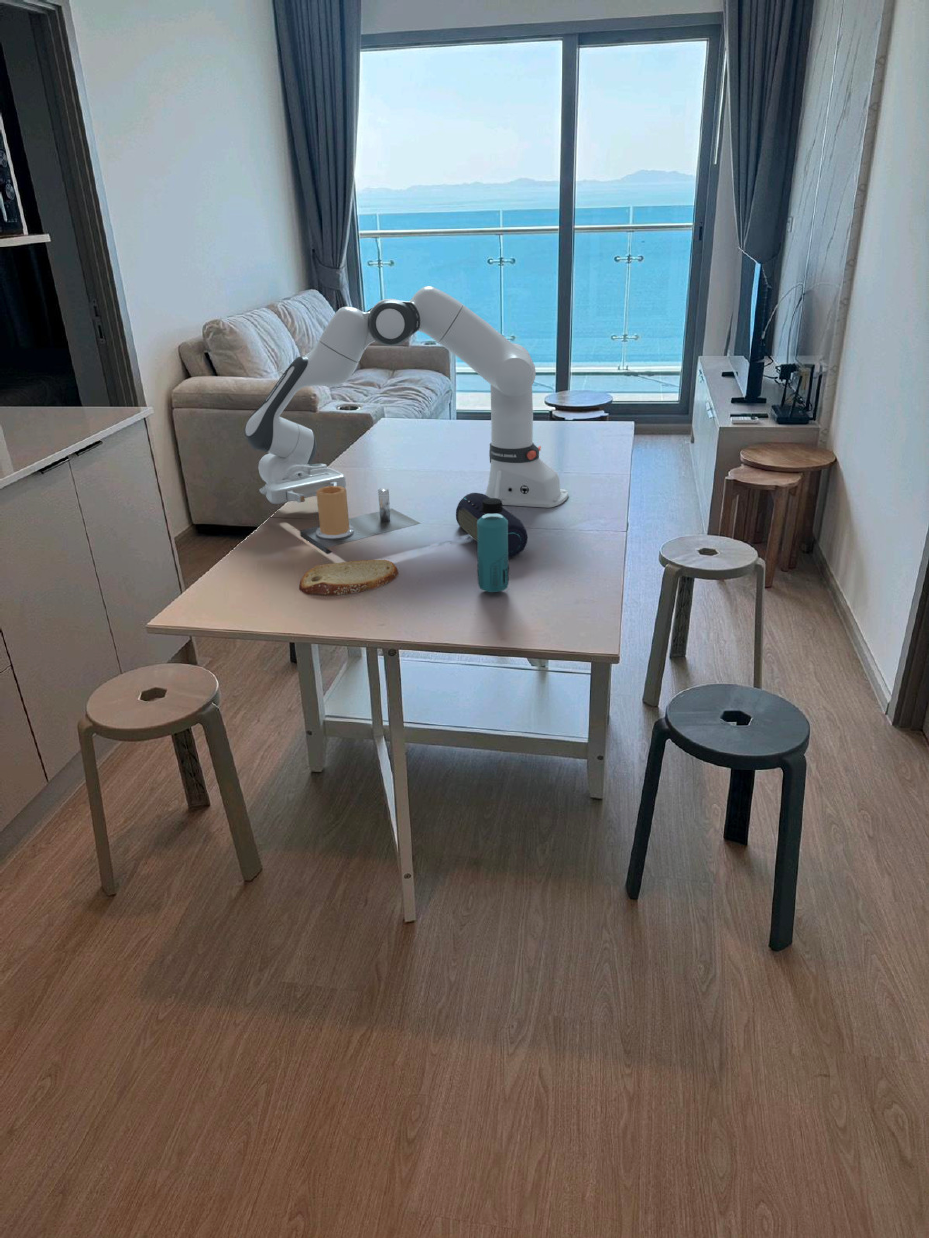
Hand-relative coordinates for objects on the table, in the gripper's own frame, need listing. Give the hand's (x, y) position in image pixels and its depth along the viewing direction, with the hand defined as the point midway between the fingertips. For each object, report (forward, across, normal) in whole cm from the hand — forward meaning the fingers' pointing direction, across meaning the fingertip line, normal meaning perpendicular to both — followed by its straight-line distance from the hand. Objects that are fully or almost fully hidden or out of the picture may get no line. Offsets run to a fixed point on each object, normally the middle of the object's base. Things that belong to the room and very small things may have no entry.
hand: (319, 495), depth 201 cm
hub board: (+6, +7, +10) cm, 13 cm away
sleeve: (+6, 0, +7) cm, 10 cm away
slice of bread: (+30, -9, +10) cm, 33 cm away
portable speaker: (+32, +28, +10) cm, 43 cm away
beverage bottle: (+54, +12, +10) cm, 56 cm away
